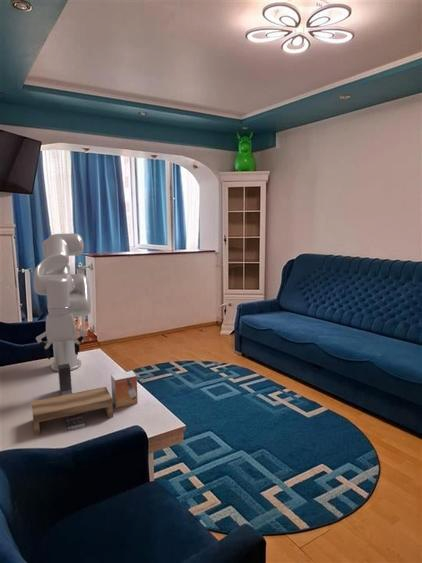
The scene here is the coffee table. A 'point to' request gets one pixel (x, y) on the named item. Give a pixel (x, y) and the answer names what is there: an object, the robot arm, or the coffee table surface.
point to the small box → (124, 389)
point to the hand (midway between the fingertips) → (63, 356)
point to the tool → (65, 380)
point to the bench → (71, 405)
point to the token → (75, 423)
